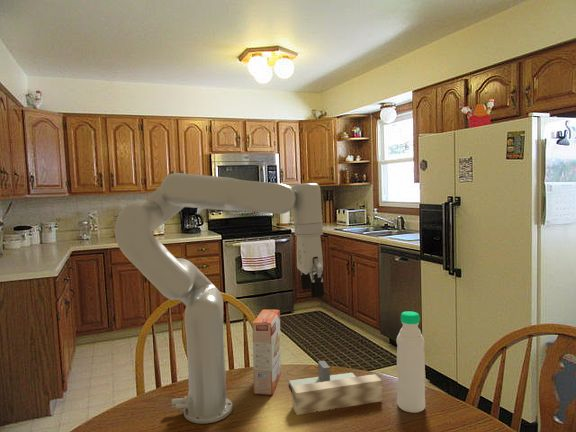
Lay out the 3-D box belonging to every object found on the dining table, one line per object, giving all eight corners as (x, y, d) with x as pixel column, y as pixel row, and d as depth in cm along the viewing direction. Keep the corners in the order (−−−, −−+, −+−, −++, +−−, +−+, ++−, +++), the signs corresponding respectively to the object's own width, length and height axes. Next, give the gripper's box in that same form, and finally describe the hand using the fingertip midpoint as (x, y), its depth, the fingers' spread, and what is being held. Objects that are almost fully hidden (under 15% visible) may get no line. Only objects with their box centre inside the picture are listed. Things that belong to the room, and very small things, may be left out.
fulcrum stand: (293, 393, 118) (293, 372, 118) (289, 383, 124) (288, 364, 123) (359, 384, 122) (359, 364, 122) (352, 375, 128) (352, 356, 128)
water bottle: (429, 413, 105) (428, 316, 104) (401, 414, 105) (399, 317, 104) (420, 399, 112) (419, 308, 111) (394, 400, 112) (393, 309, 111)
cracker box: (274, 396, 117) (271, 323, 115) (253, 395, 118) (250, 322, 116) (282, 374, 130) (280, 308, 129) (263, 373, 131) (261, 308, 130)
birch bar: (296, 415, 106) (296, 393, 106) (292, 408, 110) (292, 386, 110) (382, 401, 112) (381, 380, 112) (375, 395, 116) (375, 374, 116)
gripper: (287, 228, 118) (291, 287, 119) (303, 233, 101) (307, 302, 102) (312, 226, 120) (316, 284, 121) (332, 231, 103) (336, 299, 104)
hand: (312, 292), depth 112 cm, fingers open, 9 cm apart
